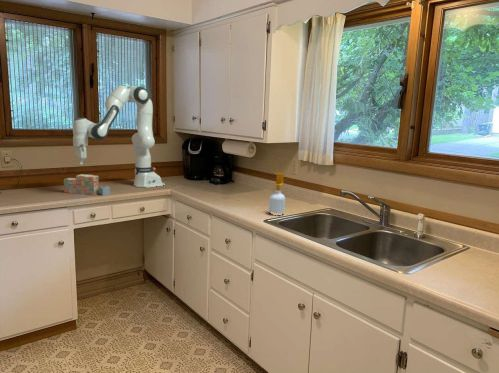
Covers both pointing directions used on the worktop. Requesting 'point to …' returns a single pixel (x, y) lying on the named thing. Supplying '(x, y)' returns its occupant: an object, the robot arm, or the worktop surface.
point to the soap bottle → (277, 196)
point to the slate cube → (104, 190)
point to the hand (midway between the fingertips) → (81, 164)
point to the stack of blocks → (82, 185)
